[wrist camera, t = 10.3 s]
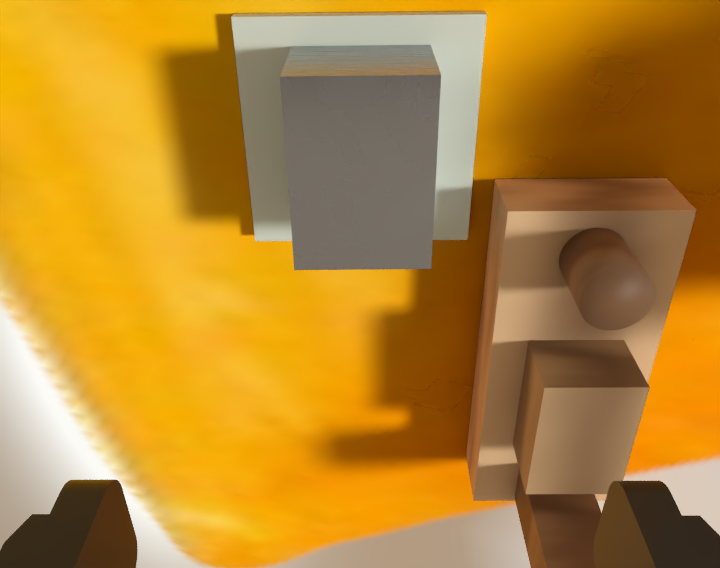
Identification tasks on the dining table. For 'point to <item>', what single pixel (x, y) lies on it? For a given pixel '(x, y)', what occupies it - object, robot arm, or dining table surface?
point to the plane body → (569, 347)
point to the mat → (283, 30)
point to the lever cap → (361, 155)
